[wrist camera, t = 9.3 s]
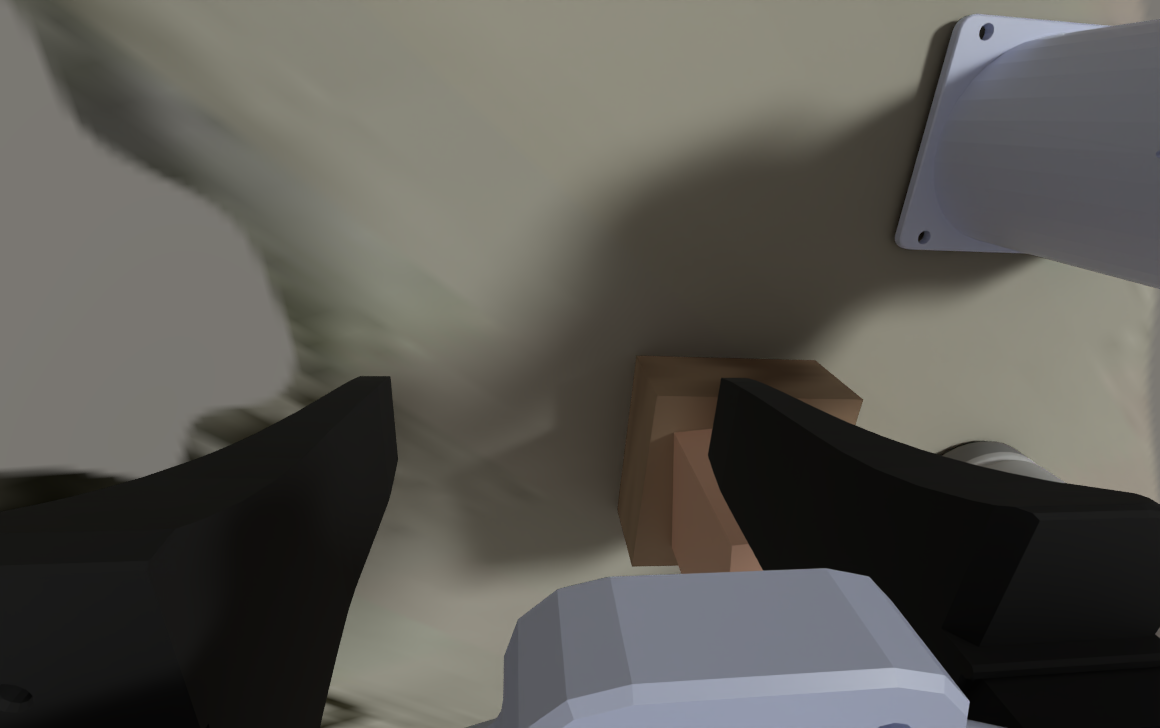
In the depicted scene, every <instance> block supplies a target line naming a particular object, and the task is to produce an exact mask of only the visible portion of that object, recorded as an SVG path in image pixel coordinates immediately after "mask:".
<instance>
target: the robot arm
mask: <svg viewBox="0 0 1160 728" xmlns="http://www.w3.org/2000/svg"><path fill="white" fill-rule="evenodd" d="M982 26H984V28H985V34H984V36H983V38H982V39H980V37H979V31H980V29H981V27H982ZM923 231H924V236H923V238H922V239H921V240H920V241H919V242H918V236H919V235H920V233H921V232H923ZM895 242H896V244H897V245H898V246H899V247H902V248H905V249H911V250H941V251H970V252H999V253H1027V254H1031V255H1035V256H1038V257H1042V258H1046V259H1050V260H1053V261H1057V262H1061V263H1064V264H1068V265H1072V266H1076V267H1079V268H1083V269H1087V270H1091V271H1094V272H1098V273H1102V274H1106V275H1109V276H1113V277H1117V278H1120V279H1124V280H1128V281H1132V282H1135V283H1139V284H1143V285H1147V286H1150V287H1154V288H1158V289H1160V19H1156V20H1149V21H1143V22H1136V23H1130V24H1123V25H1116V26H1106V25H1095V24H1084V23H1073V22H1062V21H1051V20H1040V19H1029V18H1018V17H1007V16H996V15H985V14H973V15H968V16H965V17H963V18H961V19H960V20H959V21H958V22H957V23H956V25H955V27H954V29H953V31H952V35H951V38H950V42H949V46H948V49H947V53H946V56H945V60H944V63H943V67H942V70H941V74H940V78H939V81H938V85H937V88H936V92H935V95H934V99H933V102H932V106H931V110H930V113H929V117H928V120H927V124H926V127H925V131H924V134H923V138H922V142H921V145H920V149H919V152H918V156H917V159H916V163H915V167H914V170H913V174H912V177H911V181H910V184H909V188H908V191H907V195H906V199H905V202H904V206H903V209H902V213H901V216H900V220H899V223H898V227H897V231H896V234H895ZM708 458H709V461H710V464H711V467H712V470H713V473H714V476H715V478H716V481H717V484H718V486H719V489H720V492H721V493H722V495H723V497H724V499H725V501H726V503H727V505H728V507H729V509H730V511H731V513H732V514H733V516H734V518H735V520H736V522H737V524H738V526H739V527H740V529H741V531H742V533H743V535H744V537H745V538H746V540H747V542H748V544H749V546H750V548H751V549H752V551H753V553H754V555H755V557H756V559H757V560H758V562H759V564H760V566H761V568H762V570H763V571H742V572H717V573H692V574H666V575H641V576H616V577H605V578H601V579H597V580H592V581H588V582H584V583H580V584H576V585H572V586H567V587H563V588H560V589H557V590H556V591H555V592H553V593H552V594H551V595H549V596H548V597H547V598H545V599H544V600H543V601H541V602H540V603H539V604H538V605H536V606H535V607H534V608H532V609H531V610H530V611H528V612H527V613H526V614H524V615H523V616H522V617H521V618H519V619H518V621H517V624H516V626H515V629H514V632H513V634H512V637H511V640H510V642H509V645H508V647H507V650H506V653H505V655H504V690H503V703H502V709H501V712H500V714H499V715H498V717H497V718H495V719H492V720H489V721H485V722H482V723H479V724H475V725H472V726H469V727H466V728H1160V638H1159V637H1158V636H1157V635H1155V634H1156V632H1157V631H1158V629H1159V628H1160V504H1158V503H1156V502H1155V501H1153V500H1151V499H1150V498H1147V497H1144V496H1142V495H1138V494H1135V493H1129V492H1122V491H1115V490H1108V489H1101V488H1095V487H1088V486H1081V485H1074V484H1067V483H1060V482H1054V481H1049V480H1043V479H1038V478H1033V477H1028V476H1023V475H1018V474H1013V473H1008V472H1004V471H999V470H995V469H991V468H986V467H982V466H978V465H974V464H970V463H967V462H963V461H959V460H955V459H952V458H948V457H944V456H941V455H937V454H934V453H931V452H927V451H924V450H921V449H918V448H915V447H912V446H909V445H906V444H903V443H900V442H897V441H894V440H891V439H889V438H886V437H883V436H880V435H878V434H875V433H873V432H870V431H867V430H865V429H863V428H860V427H858V426H856V425H853V424H851V423H849V422H846V421H844V420H841V419H839V418H837V417H835V416H833V415H830V414H828V413H826V412H824V411H822V410H820V409H817V408H815V407H813V406H811V405H809V404H807V403H805V402H803V401H801V400H799V399H796V398H794V397H792V396H790V395H788V394H786V393H784V392H782V391H780V390H777V389H775V388H773V387H771V386H768V385H766V384H764V383H761V382H759V381H756V380H753V379H750V378H721V382H720V388H719V393H718V399H717V405H716V411H715V416H714V422H713V428H712V434H711V440H710V445H709V451H708ZM397 462H398V455H397V444H396V433H395V422H394V411H393V400H392V389H391V379H390V376H360V377H357V378H355V379H353V380H351V381H349V382H347V383H345V384H344V385H342V386H340V387H338V388H337V389H335V390H333V391H332V392H330V393H328V394H327V395H325V396H323V397H321V398H320V399H318V400H316V401H315V402H313V403H311V404H310V405H308V406H306V407H304V408H303V409H301V410H299V411H298V412H296V413H294V414H292V415H290V416H288V417H286V418H284V419H283V420H281V421H279V422H277V423H275V424H273V425H271V426H269V427H267V428H266V429H264V430H262V431H260V432H258V433H256V434H254V435H252V436H250V437H248V438H245V439H243V440H241V441H239V442H237V443H234V444H232V445H230V446H227V447H225V448H222V449H220V450H218V451H215V452H213V453H210V454H208V455H206V456H203V457H200V458H198V459H195V460H192V461H189V462H186V463H183V464H180V465H177V466H174V467H171V468H169V469H166V470H163V471H160V472H157V473H154V474H151V475H148V476H145V477H142V478H139V479H135V480H132V481H129V482H125V483H121V484H118V485H114V486H111V487H107V488H104V489H100V490H96V491H92V492H88V493H84V494H80V495H76V496H72V497H68V498H64V499H60V500H55V501H51V502H47V503H42V504H37V505H32V506H27V507H22V508H17V509H12V510H7V511H2V512H0V728H320V725H321V720H322V716H323V711H324V707H325V703H326V698H327V694H328V690H329V686H330V682H331V677H332V673H333V669H334V665H335V661H336V656H337V653H338V649H339V645H340V641H341V637H342V633H343V629H344V625H345V622H346V618H347V614H348V610H349V607H350V604H351V601H352V598H353V594H354V591H355V588H356V586H357V583H358V580H359V578H360V575H361V573H362V570H363V567H364V565H365V562H366V560H367V557H368V554H369V552H370V549H371V546H372V544H373V541H374V539H375V536H376V533H377V531H378V528H379V526H380V523H381V520H382V517H383V515H384V512H385V509H386V507H387V504H388V501H389V498H390V494H391V490H392V485H393V481H394V476H395V471H396V466H397Z"/></svg>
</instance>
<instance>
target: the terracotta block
mask: <svg viewBox="0 0 1160 728" xmlns="http://www.w3.org/2000/svg"><path fill="white" fill-rule="evenodd" d="M711 434H712V429H703V430H694V431H684V432H675V433H674V456H673V505H672V549H673V552H674V555H675V557H676V560H677V563H678V565H679V568H680V571H681V574H692V573H717V572H742V571H763V570H762V568H761V566H760V564H759V562H758V560H757V559H756V557H755V555H754V553H753V551H752V549H751V548H750V546H749V544H748V542H747V540H746V538H745V537H744V535H743V533H742V531H741V529H740V527H739V526H738V524H737V522H736V520H735V518H734V516H733V514H732V513H731V511H730V509H729V507H728V505H727V503H726V501H725V499H724V497H723V495H722V493H721V492H720V489H719V486H718V484H717V481H716V478H715V476H714V473H713V470H712V467H711V464H710V461H709V458H708V451H709V445H710V440H711Z"/></svg>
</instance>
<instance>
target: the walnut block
mask: <svg viewBox="0 0 1160 728" xmlns="http://www.w3.org/2000/svg"><path fill="white" fill-rule="evenodd" d="M721 378H750V379H753V380H756V381H759V382H761V383H764V384H766V385H768V386H771V387H773V388H775V389H777V390H780V391H782V392H784V393H786V394H788V395H790V396H792V397H794V398H796V399H799V400H801V401H803V402H805V403H807V404H809V405H811V406H813V407H815V408H817V409H820V410H822V411H824V412H826V413H828V414H830V415H833V416H835V417H837V418H839V419H841V420H844V421H846V422H849V423H851V424H853V425H855V424H856V421H857V418H858V415H859V411H860V408H861V405H862V402H863V399H862V398H861V397H859V396H858V395H857V394H856V393H854V392H853V391H852V390H851V389H850V388H848V387H847V386H846V385H845V384H843V383H842V382H841V381H840V380H839V379H837V378H836V377H835V376H834V375H832V374H831V373H830V372H829V371H828V370H826V369H825V368H824V367H823V366H821V365H820V364H819V363H818V362H817V361H815V360H782V359H745V358H709V357H673V356H637V357H636V365H635V373H634V381H633V389H632V397H631V405H630V413H629V421H628V429H627V437H626V445H625V452H624V460H623V468H622V476H621V484H620V492H619V500H618V508H617V510H618V514H619V518H620V522H621V526H622V529H623V533H624V537H625V541H626V545H627V549H628V553H629V557H630V560H631V564H632V566H674V565H678V563H677V560H676V557H675V555H674V552H673V549H672V505H673V456H674V433H675V432H684V431H694V430H703V429H712V428H713V422H714V416H715V411H716V405H717V399H718V393H719V388H720V382H721Z"/></svg>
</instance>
